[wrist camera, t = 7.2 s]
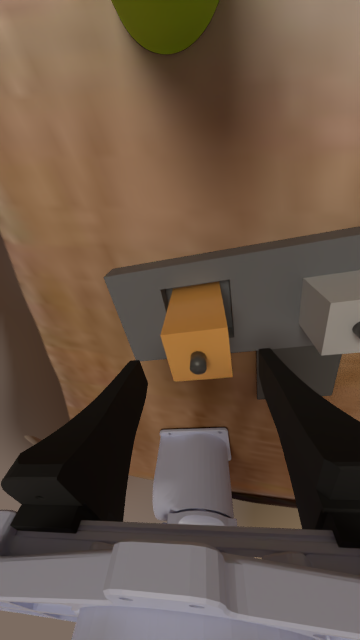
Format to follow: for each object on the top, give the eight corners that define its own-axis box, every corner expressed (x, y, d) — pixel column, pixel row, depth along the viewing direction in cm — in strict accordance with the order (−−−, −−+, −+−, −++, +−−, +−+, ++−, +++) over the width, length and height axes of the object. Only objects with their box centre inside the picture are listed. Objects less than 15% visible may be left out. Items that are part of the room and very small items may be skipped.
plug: (181, 326, 21) (172, 393, 14) (173, 288, 19) (157, 345, 12) (223, 321, 20) (234, 389, 14) (219, 281, 18) (229, 337, 12)
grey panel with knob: (141, 348, 23) (121, 404, 18) (112, 269, 19) (71, 307, 13) (505, 311, 18) (654, 373, 12) (587, 187, 13) (891, 188, 8)
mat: (257, 397, 26) (257, 399, 26) (256, 345, 22) (257, 346, 22) (330, 393, 25) (331, 395, 24) (343, 336, 21) (345, 338, 20)
